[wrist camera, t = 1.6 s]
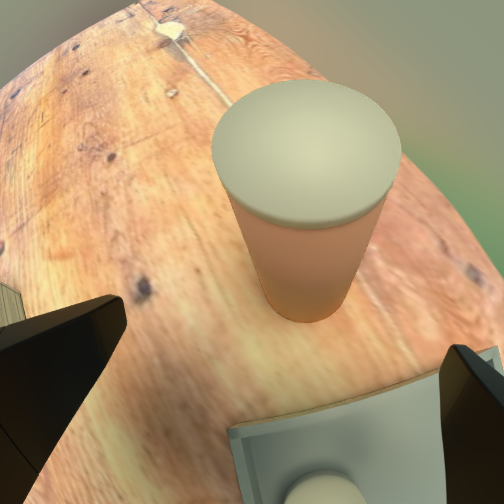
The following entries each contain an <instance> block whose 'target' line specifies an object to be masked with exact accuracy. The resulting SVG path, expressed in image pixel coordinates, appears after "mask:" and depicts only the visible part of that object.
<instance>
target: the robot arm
mask: <svg viewBox="0 0 504 504" xmlns="http://www.w3.org/2000/svg"><path fill="white" fill-rule="evenodd" d="M126 326H127V318H126V313H125V308H124V302H123V300H122V298H121V297H119V296H115V295H111V294H108V295H105V296H101V297H98V298H95V299H91V300H88V301H85V302H81V303H78V304H75V305H72V306H68V307H65V308H62V309H58V310H55V311H52V312H48V313H45V314H42V315H39V316H35V317H32V318H29V319H25V320H22V321H19V322H16V323H12V324H9V325H7V326H2V327H0V504H23V502H24V501H25V499H26V497H27V495H28V493H29V492H30V490H31V488H32V486H33V484H34V483H35V481H36V479H37V477H38V476H39V474H38V473H40V472H41V470H42V468H43V467H44V465H45V463H46V461H47V460H48V458H49V456H50V455H51V453H52V451H53V450H54V448H55V446H56V445H57V443H58V441H59V440H60V438H61V436H62V435H63V433H64V431H65V430H66V428H67V427H68V425H69V423H70V422H71V420H72V418H73V417H74V415H75V414H76V412H77V410H78V409H79V407H80V406H81V404H82V403H83V401H84V399H85V398H86V396H87V395H88V393H89V392H90V390H91V389H92V387H93V386H94V384H95V382H96V381H97V379H98V378H99V376H100V375H101V373H102V372H103V370H104V368H105V367H106V365H107V363H108V361H109V359H110V357H111V356H112V354H113V352H114V350H115V348H116V346H117V344H118V342H119V340H120V339H121V337H122V335H123V333H124V331H125V329H126ZM439 392H440V420H441V433H442V442H443V452H444V463H445V478H446V503H447V504H504V376H503V375H502V374H500V373H499V372H498V371H497V370H496V369H494V368H493V367H492V366H491V365H489V364H488V363H487V362H486V361H485V360H483V359H482V358H481V357H480V356H478V355H477V354H476V353H475V352H474V351H472V350H471V349H470V348H469V347H467V346H466V345H459V344H453V345H451V346H450V347H449V349H448V351H447V354H446V356H445V358H444V361H443V363H442V365H441V367H440V370H439Z"/></svg>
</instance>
